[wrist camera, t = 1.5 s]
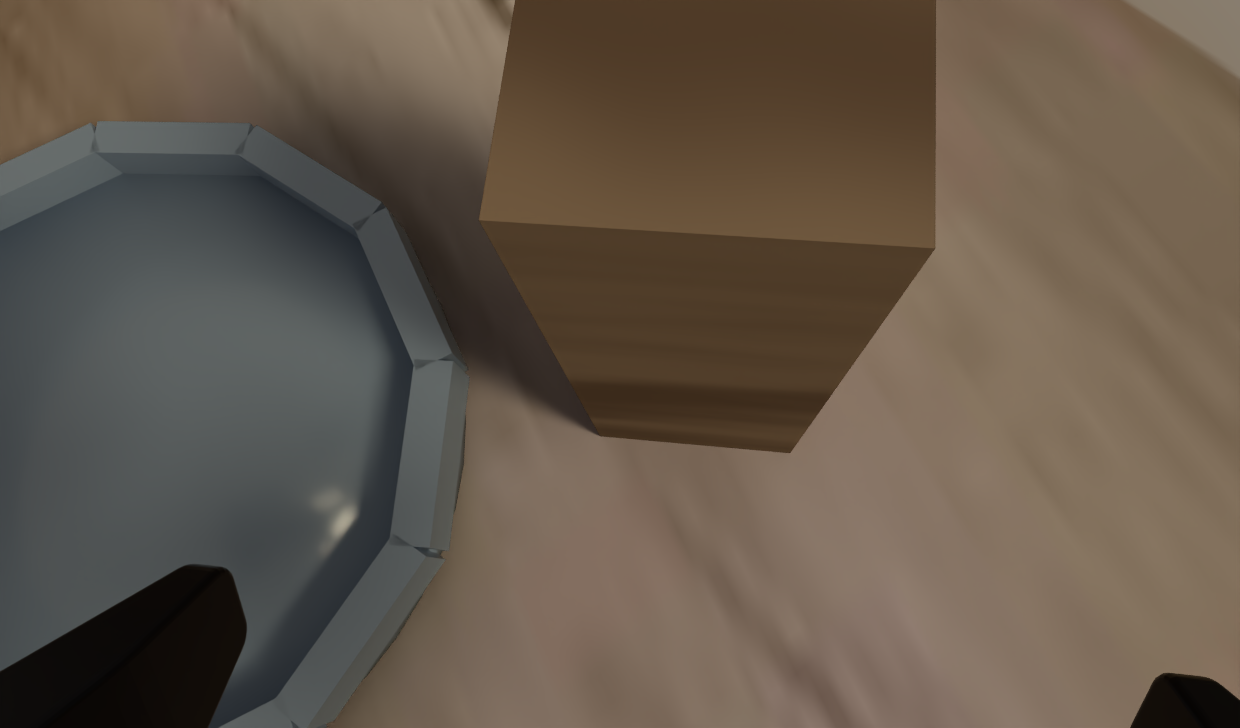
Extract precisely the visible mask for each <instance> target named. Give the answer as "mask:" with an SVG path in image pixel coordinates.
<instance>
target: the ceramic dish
mask: <svg viewBox="0 0 1240 728" xmlns="http://www.w3.org/2000/svg"><path fill="white" fill-rule="evenodd" d="M467 370H468V368H467V365H466V363H465V361H464V359H463V357H462V354H461V352H460V350H459V348H458V346H457V343H456V341H455V339H454V337H453V335H452V332H451V330H450V328H449V325H448V323H447V320H446V317H445V314H444V312H443V309H442V306H441V304H440V302H439V300H438V298H437V297H436V295H435V293H434V291H433V289H432V287H431V286H430V284H429V282H428V280H427V277H426V275H425V273H424V271H423V269H422V266H421V264H420V262H419V260H418V258H417V255H416V253H415V251H414V249H413V247H412V244H411V242H410V240H409V238H408V236H407V233H406V232H405V231H404V229H403V228H402V227H401V225H400V224H399V223H398V222H397V220H396V219H395V218H394V217H393V215H392V214H391V213H390V211H389V210H388V209H387V208H386V207H385V206H384V204H383V203H382V202H381V201H379V200H377V199H376V198H374V197H373V196H371V195H369V194H368V193H366V192H365V191H363V190H361V189H360V188H358V187H356V186H355V185H353V184H352V183H350V182H348V181H347V180H345V179H343V178H342V177H340V176H339V175H337V174H335V173H334V172H332V171H330V170H329V169H327V168H326V167H324V166H322V165H321V164H319V163H318V162H316V161H314V160H313V159H311V158H309V157H308V156H306V155H305V154H303V153H301V152H300V151H298V150H296V149H295V148H293V147H292V146H290V145H288V144H287V143H285V142H284V141H282V140H280V139H279V138H277V137H275V136H274V135H272V134H271V133H269V132H267V131H266V130H264V129H262V128H261V127H259V126H258V125H256V126H255V128H254V127H253V126H252V125H251V124H250V123H197V122H115V121H98V123H97V127H95V126H94V125H93V124H91V123H89V124H87V125H85V126H83V127H81V128H79V129H77V130H74V131H72V132H70V133H68V134H66V135H64V136H61V137H59V138H57V139H55V140H53V141H51V142H49V143H46V144H44V145H42V146H40V147H38V148H36V149H33V150H31V151H29V152H27V153H25V154H23V155H21V156H18V157H16V158H14V159H12V160H10V161H8V162H6V163H3V164H1V165H0V671H2V670H3V669H5V668H7V667H9V666H10V665H12V664H14V663H15V662H17V661H19V660H21V659H22V658H24V657H26V656H28V655H29V654H31V653H33V652H34V651H36V650H38V649H40V648H41V647H43V646H45V645H47V644H48V643H50V642H52V641H53V640H55V639H57V638H59V637H60V636H62V635H64V634H66V633H67V632H69V631H71V630H72V629H74V628H76V627H78V626H79V625H81V624H83V623H85V622H86V621H88V620H90V619H92V618H93V617H95V616H97V615H98V614H100V613H102V612H104V611H105V610H107V609H109V608H111V607H112V606H114V605H116V604H117V603H119V602H121V601H123V600H124V599H126V598H128V597H130V596H131V595H133V594H135V593H136V592H138V591H140V590H142V589H143V588H145V587H147V586H149V585H150V584H152V583H154V582H155V581H157V580H159V579H161V578H162V577H164V576H166V575H168V574H169V573H171V572H173V571H174V570H176V569H178V568H180V567H182V566H184V565H187V564H203V565H212V566H221V567H224V568H227V569H228V570H229V571H230V572H231V573H232V575H233V577H234V581H235V584H236V587H237V591H238V594H239V597H240V601H241V604H242V608H243V611H244V614H245V618H246V622H247V635H246V640H245V644H244V647H243V650H242V652H241V654H240V656H239V659H238V661H237V663H236V666H235V668H234V670H233V672H232V675H231V677H230V679H229V682H228V684H227V686H226V688H225V691H224V693H223V695H222V698H221V700H220V702H219V704H218V707H217V709H216V711H215V714H214V716H213V718H212V720H211V723H210V725H209V727H208V728H326V727H327V725H326V723H329V722H332V721H334V720H335V719H336V717H337V716H338V714H339V713H340V711H341V710H342V709H343V707H344V706H345V704H346V703H347V701H348V700H349V698H350V697H351V696H352V694H353V693H354V691H355V690H356V688H357V687H358V685H359V684H360V683H361V681H362V680H363V679H364V678H365V677H366V676H367V675H368V674H369V672H370V671H371V670H372V668H373V667H374V666H375V665H376V663H377V662H378V661H379V659H380V658H381V657H382V656H383V654H384V653H385V652H386V651H387V649H388V648H389V647H390V645H391V644H392V643H393V642H394V640H395V639H396V638H397V636H398V635H399V633H400V631H401V630H402V628H403V626H404V625H405V623H406V621H407V620H408V618H409V616H410V615H411V613H412V611H413V610H414V608H415V607H416V605H417V603H418V602H419V600H420V598H421V597H422V595H423V592H424V590H425V589H426V587H427V586H428V584H429V583H430V581H431V580H432V579H433V577H434V576H435V574H436V573H437V571H438V570H439V568H440V567H441V566H442V564H443V563H444V561H445V560H446V559H444V558H443V557H442V556H440V555H441V553H442V551H449V546H450V538H451V529H452V521H453V515H454V512H455V508H456V503H457V498H458V492H459V487H460V481H461V476H462V470H463V465H464V448H465V429H466V415H465V412H466V403H467V395H468V387H469V378H470V377H469V376H468V375H467V374H466V373H465V371H467Z"/></svg>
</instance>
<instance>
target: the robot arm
mask: <svg viewBox="0 0 1240 728" xmlns="http://www.w3.org/2000/svg"><path fill="white" fill-rule="evenodd" d="M246 635H247V622H246V618H245V614H244V611H243V608H242V604H241V601H240V597H239V594H238V591H237V587H236V584H235V581H234V577H233V575H232V573H231V572H230V571H229V570H228V569H227V568H224V567H221V566H212V565H203V564H187V565H184V566H182V567H180V568H178V569H176V570H174V571H173V572H171V573H169V574H168V575H166V576H164V577H162V578H161V579H159V580H157V581H155V582H154V583H152V584H150V585H149V586H147V587H145V588H143V589H142V590H140V591H138V592H136V593H135V594H133V595H131V596H130V597H128V598H126V599H124V600H123V601H121V602H119V603H117V604H116V605H114V606H112V607H111V608H109V609H107V610H105V611H104V612H102V613H100V614H98V615H97V616H95V617H93V618H92V619H90V620H88V621H86V622H85V623H83V624H81V625H79V626H78V627H76V628H74V629H72V630H71V631H69V632H67V633H66V634H64V635H62V636H60V637H59V638H57V639H55V640H53V641H52V642H50V643H48V644H47V645H45V646H43V647H41V648H40V649H38V650H36V651H34V652H33V653H31V654H29V655H28V656H26V657H24V658H22V659H21V660H19V661H17V662H15V663H14V664H12V665H10V666H9V667H7V668H5V669H3V670H2V671H0V728H208V727H209V725H210V723H211V720H212V718H213V716H214V714H215V711H216V709H217V707H218V704H219V702H220V700H221V698H222V695H223V693H224V691H225V688H226V686H227V684H228V682H229V679H230V677H231V675H232V672H233V670H234V668H235V666H236V663H237V661H238V659H239V656H240V654H241V652H242V650H243V647H244V644H245V640H246ZM1130 728H1240V700H1239V699H1238V698H1237V697H1235V696H1234V695H1233V694H1232V693H1231V692H1229V691H1228V690H1227V689H1226V688H1224V687H1223V686H1222V685H1220V684H1219V683H1218V682H1216V681H1214V680H1212V679H1210V678H1207V677H1201V676H1193V675H1184V674H1175V673H1163V674H1161V675H1160V676H1158V677H1157V678H1155V680H1154V681H1153V683H1152V685H1151V687H1150V689H1149V691H1148V693H1147V695H1146V697H1145V699H1144V701H1143V703H1142V705H1141V707H1140V709H1139V711H1138V713H1137V715H1136V717H1135V719H1134V721H1133V723H1132V725H1131V727H1130Z"/></svg>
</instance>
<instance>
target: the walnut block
mask: <svg viewBox="0 0 1240 728" xmlns="http://www.w3.org/2000/svg"><path fill="white" fill-rule="evenodd" d="M935 149H936V0H515V5H514V11H513V17H512V23H511V29H510V35H509V41H508V47H507V53H506V59H505V65H504V71H503V77H502V83H501V89H500V95H499V101H498V107H497V113H496V120H495V126H494V132H493V138H492V144H491V150H490V156H489V162H488V168H487V174H486V180H485V186H484V192H483V198H482V204H481V210H480V216H479V221H480V223H481V225H482V227H483V229H484V230H485V232H486V234H487V236H488V237H489V239H490V241H491V243H492V245H493V246H494V248H495V250H496V252H497V253H498V255H499V257H500V259H501V261H502V262H503V264H504V266H505V268H506V269H507V271H508V273H509V275H510V277H511V278H512V280H513V282H514V284H515V286H516V287H517V289H518V291H519V293H520V294H521V296H522V298H523V300H524V302H525V303H526V305H527V307H528V309H529V310H530V312H531V314H532V316H533V318H534V319H535V321H536V323H537V325H538V326H539V328H540V330H541V332H542V334H543V335H544V337H545V339H546V341H547V342H548V344H549V346H550V348H551V350H552V351H553V353H554V355H555V357H556V358H557V360H558V362H559V364H560V366H561V367H562V369H563V371H564V373H565V374H566V376H567V378H568V380H569V382H570V383H571V385H572V387H573V389H574V390H575V392H576V394H577V396H578V398H579V399H580V401H581V403H582V405H583V406H584V408H585V410H586V412H587V414H588V415H589V417H590V419H591V421H592V423H593V424H594V426H595V428H596V430H597V431H598V433H599V435H600V436H604V437H616V438H627V439H638V440H649V441H660V442H672V443H683V444H694V445H705V446H716V447H727V448H739V449H750V450H761V451H772V452H783V453H791V451H792V450H793V448H794V447H795V445H796V444H797V443H798V441H799V440H800V438H801V437H802V436H803V434H804V433H805V431H806V430H807V429H808V427H809V426H810V424H811V423H812V421H813V420H814V419H815V417H816V416H817V414H818V413H819V412H820V410H821V409H822V407H823V406H824V405H825V403H826V402H827V400H828V399H829V398H830V396H831V395H832V393H833V392H834V390H835V389H836V388H837V386H838V385H839V383H840V382H841V381H842V379H843V378H844V376H845V375H846V374H847V372H848V371H849V369H850V368H851V366H852V365H853V364H854V362H855V361H856V359H857V358H858V357H859V355H860V354H861V352H862V351H863V350H864V348H865V347H866V345H867V344H868V343H869V341H870V340H871V338H872V337H873V335H874V334H875V333H876V331H877V330H878V328H879V327H880V326H881V324H882V323H883V321H884V320H885V319H886V317H887V316H888V314H889V313H890V311H891V310H892V309H893V307H894V306H895V304H896V303H897V302H898V300H899V299H900V297H901V296H902V295H903V293H904V292H905V290H906V289H907V288H908V286H909V285H910V283H911V282H912V280H913V279H914V278H915V276H916V275H917V273H918V272H919V271H920V269H921V268H922V266H923V265H924V264H925V262H926V261H927V259H928V258H929V256H930V255H931V254H932V252H933V251H934V249H935Z"/></svg>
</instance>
